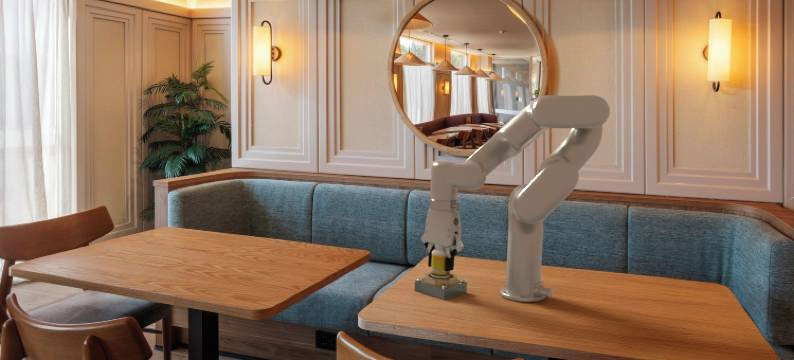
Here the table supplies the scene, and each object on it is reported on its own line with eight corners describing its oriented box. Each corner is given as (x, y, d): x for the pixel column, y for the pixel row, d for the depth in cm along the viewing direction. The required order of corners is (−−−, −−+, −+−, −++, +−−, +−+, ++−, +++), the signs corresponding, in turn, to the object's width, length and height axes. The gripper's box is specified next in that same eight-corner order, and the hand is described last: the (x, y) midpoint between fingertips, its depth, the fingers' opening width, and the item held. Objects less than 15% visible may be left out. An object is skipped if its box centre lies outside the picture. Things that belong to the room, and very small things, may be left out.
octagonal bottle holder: (466, 292, 170) (467, 276, 169) (444, 299, 162) (444, 283, 162) (437, 284, 177) (437, 269, 177) (414, 290, 170) (414, 275, 169)
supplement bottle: (448, 279, 166) (450, 245, 165) (429, 278, 167) (430, 243, 166) (450, 274, 171) (452, 241, 170) (432, 273, 172) (433, 239, 171)
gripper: (475, 208, 164) (473, 272, 166) (429, 200, 175) (426, 260, 178) (459, 211, 158) (456, 277, 160) (411, 202, 170) (409, 264, 172)
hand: (440, 267), depth 169 cm, fingers closed on supplement bottle, 5 cm apart
